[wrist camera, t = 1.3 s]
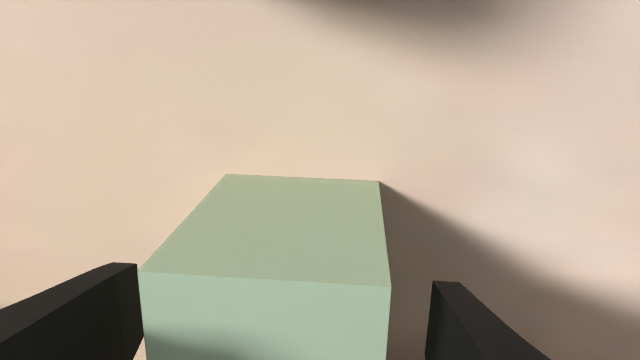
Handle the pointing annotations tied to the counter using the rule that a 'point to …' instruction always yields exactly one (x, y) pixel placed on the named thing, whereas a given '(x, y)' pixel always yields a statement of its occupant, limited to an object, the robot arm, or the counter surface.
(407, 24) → the counter surface
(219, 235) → the sage block
